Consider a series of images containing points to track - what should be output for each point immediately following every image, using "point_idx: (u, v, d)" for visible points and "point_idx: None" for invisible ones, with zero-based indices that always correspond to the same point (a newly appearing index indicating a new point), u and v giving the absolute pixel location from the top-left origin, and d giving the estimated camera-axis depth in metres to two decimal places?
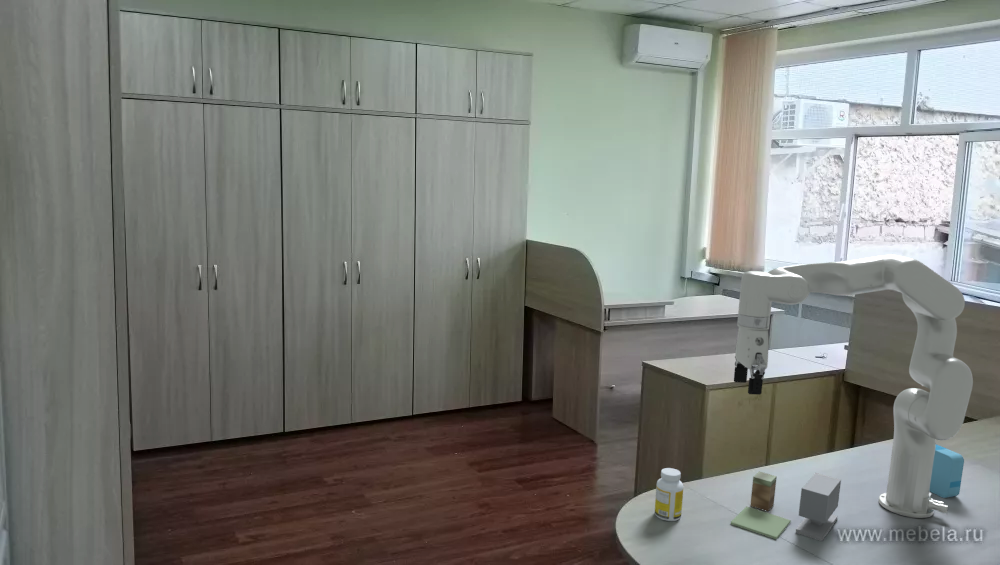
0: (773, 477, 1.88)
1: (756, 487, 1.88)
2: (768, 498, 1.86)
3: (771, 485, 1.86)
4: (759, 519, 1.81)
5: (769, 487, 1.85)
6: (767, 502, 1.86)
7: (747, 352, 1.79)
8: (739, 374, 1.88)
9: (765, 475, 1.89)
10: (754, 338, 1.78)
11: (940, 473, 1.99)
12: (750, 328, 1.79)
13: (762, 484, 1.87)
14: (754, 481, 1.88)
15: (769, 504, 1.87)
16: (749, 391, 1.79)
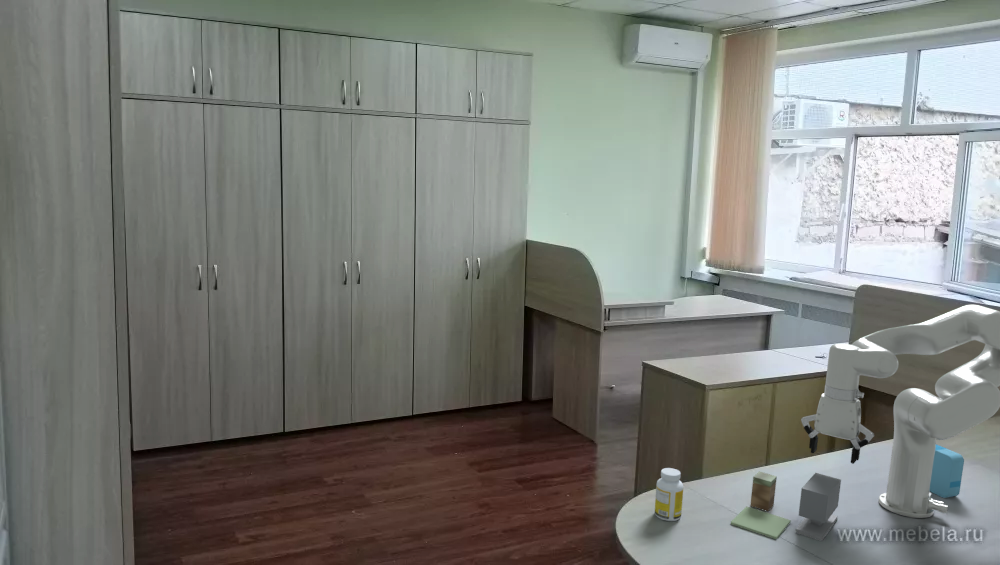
0: (773, 477, 1.88)
1: (756, 487, 1.88)
2: (768, 498, 1.86)
3: (771, 485, 1.86)
4: (759, 519, 1.81)
5: (769, 487, 1.85)
6: (767, 502, 1.86)
7: (850, 425, 1.83)
8: (815, 444, 1.91)
9: (766, 475, 1.89)
10: (857, 410, 1.83)
11: (940, 473, 1.99)
12: (852, 401, 1.83)
13: (762, 484, 1.87)
14: (754, 481, 1.88)
15: (769, 504, 1.87)
16: (853, 461, 1.85)
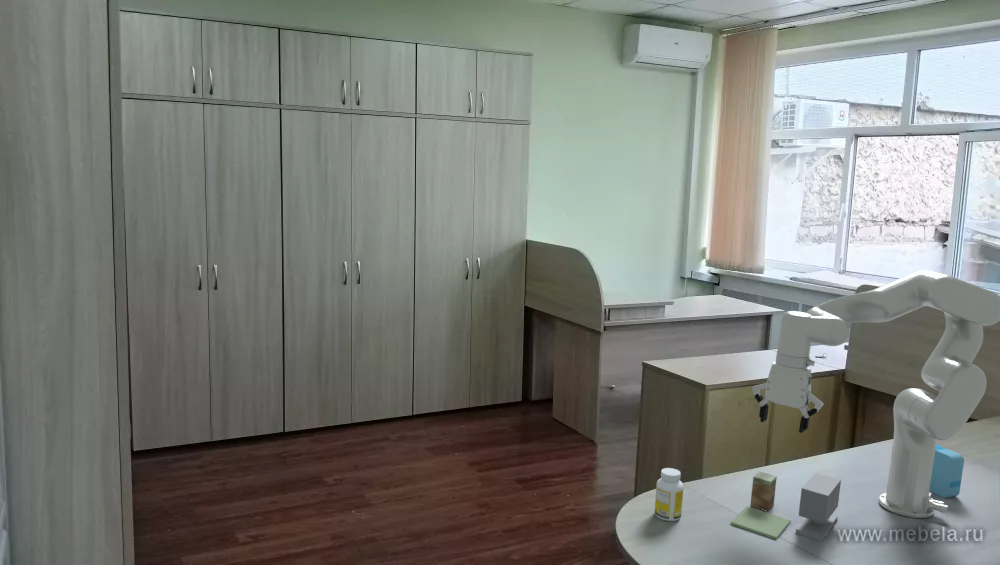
0: (773, 477, 1.88)
1: (756, 487, 1.88)
2: (768, 498, 1.86)
3: (771, 485, 1.86)
4: (759, 519, 1.81)
5: (769, 487, 1.85)
6: (767, 502, 1.86)
7: (800, 393, 1.81)
8: (765, 413, 1.88)
9: (765, 475, 1.89)
10: (807, 378, 1.80)
11: (940, 473, 1.99)
12: (802, 369, 1.80)
13: (762, 484, 1.87)
14: (754, 481, 1.88)
15: (769, 504, 1.87)
16: (801, 430, 1.82)
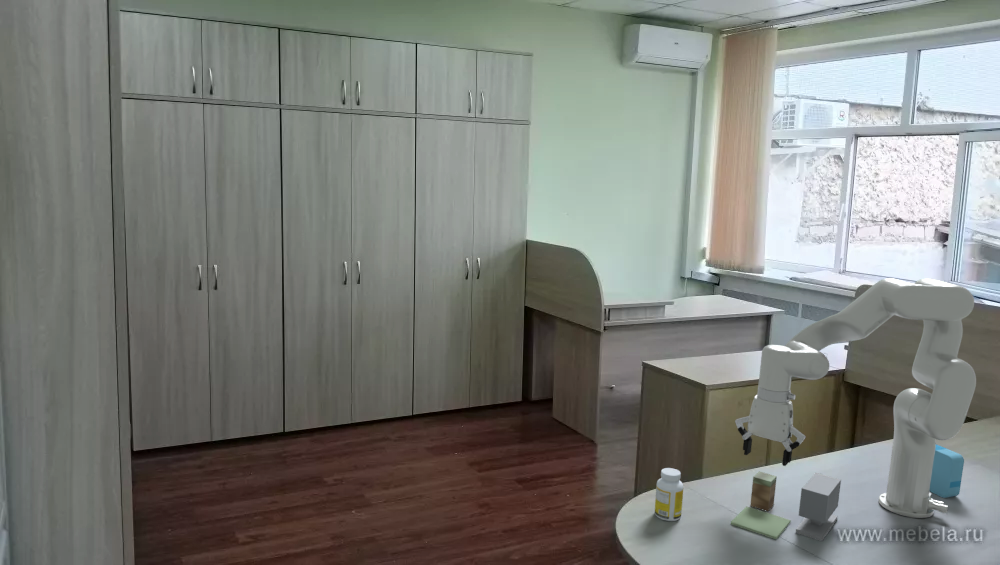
0: (773, 477, 1.88)
1: (756, 487, 1.88)
2: (768, 498, 1.86)
3: (771, 485, 1.86)
4: (759, 519, 1.81)
5: (769, 487, 1.85)
6: (767, 502, 1.86)
7: (781, 426, 1.82)
8: (748, 446, 1.89)
9: (765, 475, 1.89)
10: (788, 412, 1.81)
11: (940, 473, 1.99)
12: (783, 403, 1.81)
13: (762, 484, 1.87)
14: (754, 481, 1.88)
15: (769, 504, 1.87)
16: (785, 463, 1.83)
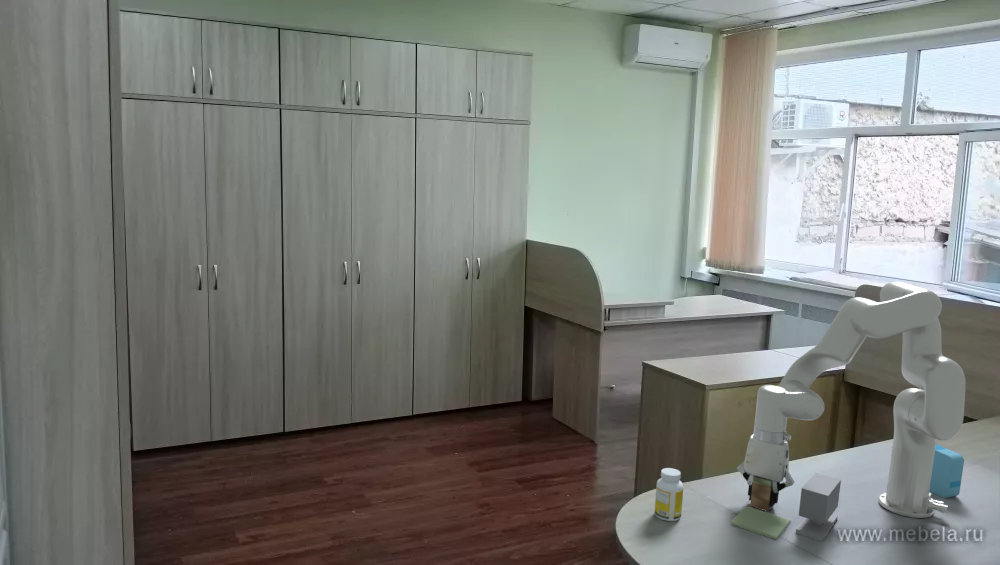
0: None
1: (755, 487, 1.88)
2: (768, 498, 1.86)
3: (771, 485, 1.86)
4: (759, 519, 1.81)
5: (769, 487, 1.85)
6: (767, 502, 1.86)
7: (777, 467, 1.84)
8: None
9: None
10: (784, 452, 1.83)
11: (940, 473, 1.99)
12: (779, 443, 1.83)
13: (762, 484, 1.87)
14: (754, 481, 1.88)
15: None
16: (771, 504, 1.86)
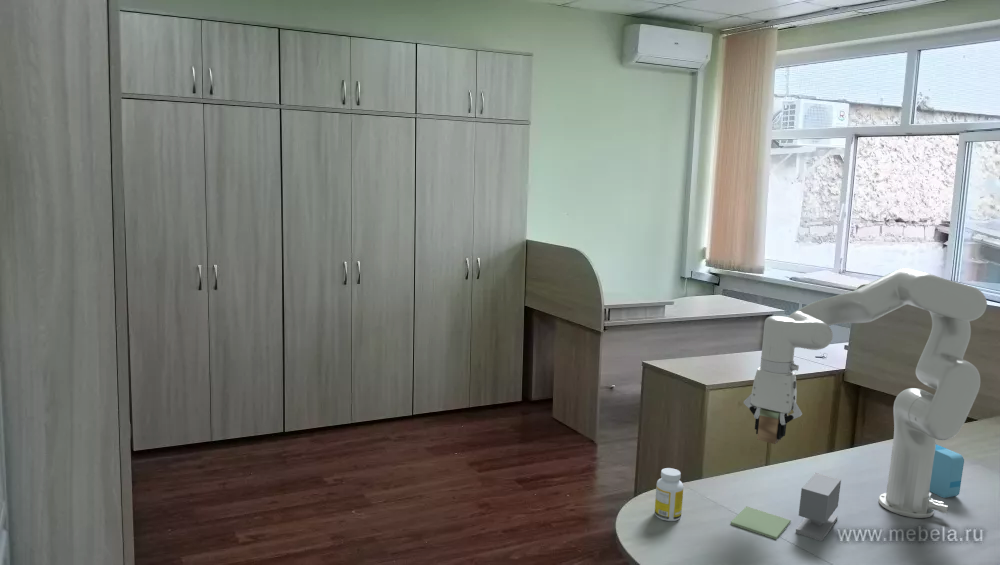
0: None
1: (763, 419, 1.84)
2: (775, 430, 1.83)
3: (778, 417, 1.83)
4: (759, 519, 1.81)
5: (776, 419, 1.82)
6: (774, 434, 1.83)
7: (785, 398, 1.80)
8: None
9: None
10: (792, 383, 1.80)
11: (940, 473, 1.99)
12: (786, 374, 1.80)
13: (769, 417, 1.83)
14: (761, 413, 1.85)
15: (776, 437, 1.84)
16: (779, 437, 1.83)
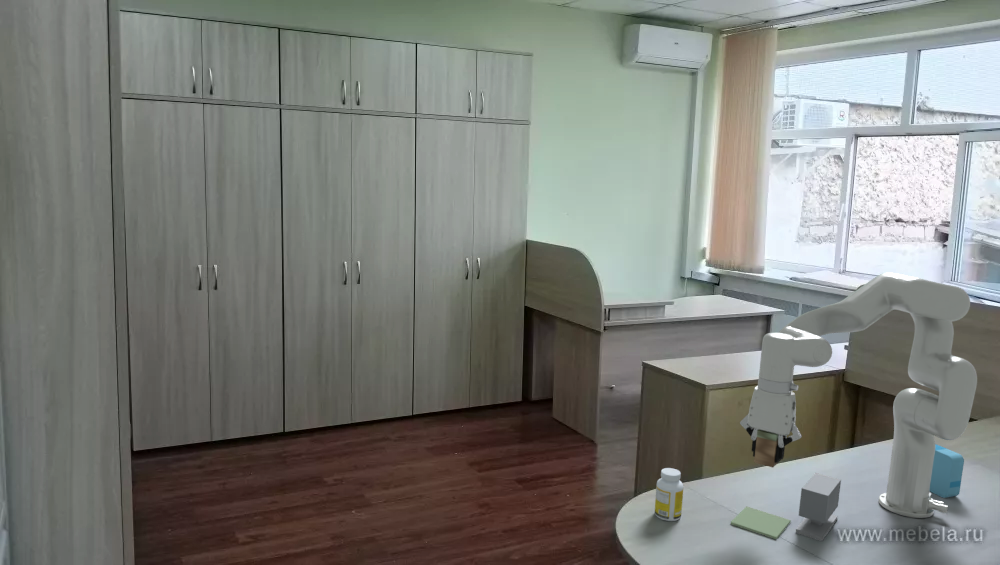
0: None
1: (760, 441, 1.75)
2: (773, 453, 1.74)
3: (776, 439, 1.74)
4: (759, 519, 1.81)
5: (774, 441, 1.73)
6: (772, 457, 1.74)
7: (784, 419, 1.71)
8: None
9: None
10: (791, 404, 1.71)
11: (940, 473, 1.99)
12: (785, 394, 1.71)
13: (767, 439, 1.74)
14: (758, 435, 1.75)
15: (774, 460, 1.74)
16: (777, 460, 1.74)
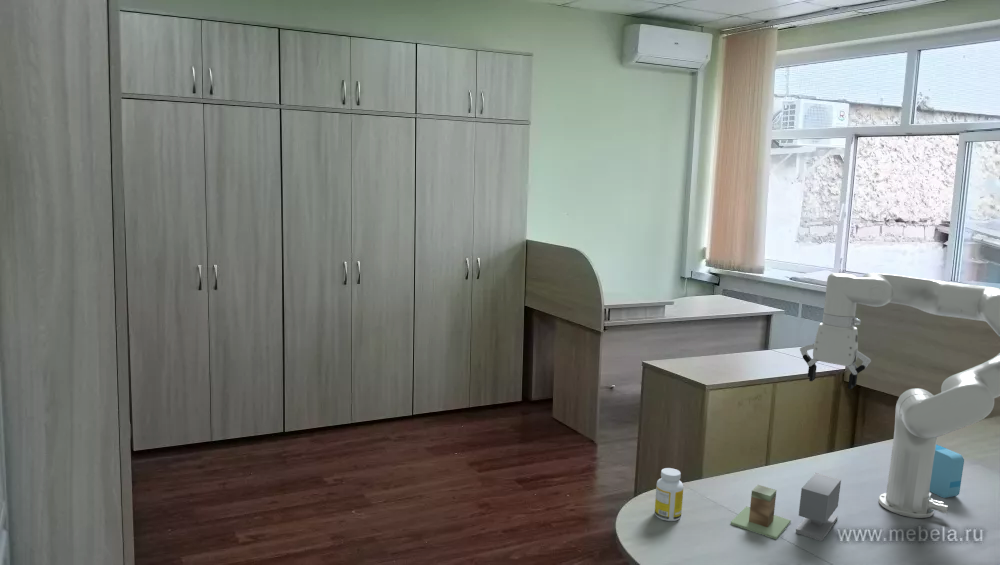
0: (773, 491, 1.78)
1: (754, 501, 1.78)
2: (767, 513, 1.76)
3: (771, 499, 1.76)
4: None
5: (769, 502, 1.76)
6: (766, 517, 1.76)
7: (848, 351, 1.88)
8: (813, 373, 1.96)
9: (765, 488, 1.79)
10: (854, 336, 1.88)
11: (940, 473, 1.99)
12: (849, 328, 1.88)
13: (761, 499, 1.77)
14: (753, 495, 1.78)
15: (769, 519, 1.77)
16: (850, 386, 1.90)
